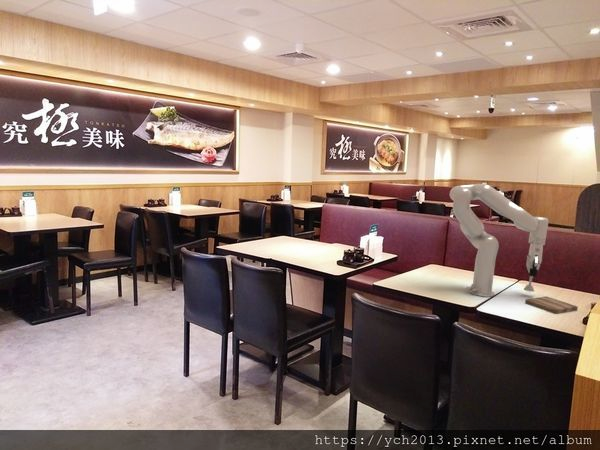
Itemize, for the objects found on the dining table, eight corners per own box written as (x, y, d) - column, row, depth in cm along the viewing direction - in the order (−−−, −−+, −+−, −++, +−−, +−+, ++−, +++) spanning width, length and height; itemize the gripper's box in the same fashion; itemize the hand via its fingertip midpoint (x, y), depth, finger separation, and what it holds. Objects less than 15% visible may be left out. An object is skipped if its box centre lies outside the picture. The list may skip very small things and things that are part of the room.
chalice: (534, 289, 227) (539, 256, 225) (538, 292, 221) (544, 258, 218) (519, 287, 229) (524, 254, 226) (523, 291, 222) (528, 257, 219)
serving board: (555, 314, 199) (556, 309, 199) (525, 303, 213) (525, 299, 213) (577, 310, 206) (577, 306, 206) (546, 300, 220) (546, 296, 220)
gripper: (548, 244, 211) (542, 279, 214) (541, 239, 227) (536, 272, 230) (531, 242, 214) (526, 277, 217) (526, 237, 230) (521, 270, 233)
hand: (531, 274), depth 223 cm, fingers closed on chalice, 5 cm apart
